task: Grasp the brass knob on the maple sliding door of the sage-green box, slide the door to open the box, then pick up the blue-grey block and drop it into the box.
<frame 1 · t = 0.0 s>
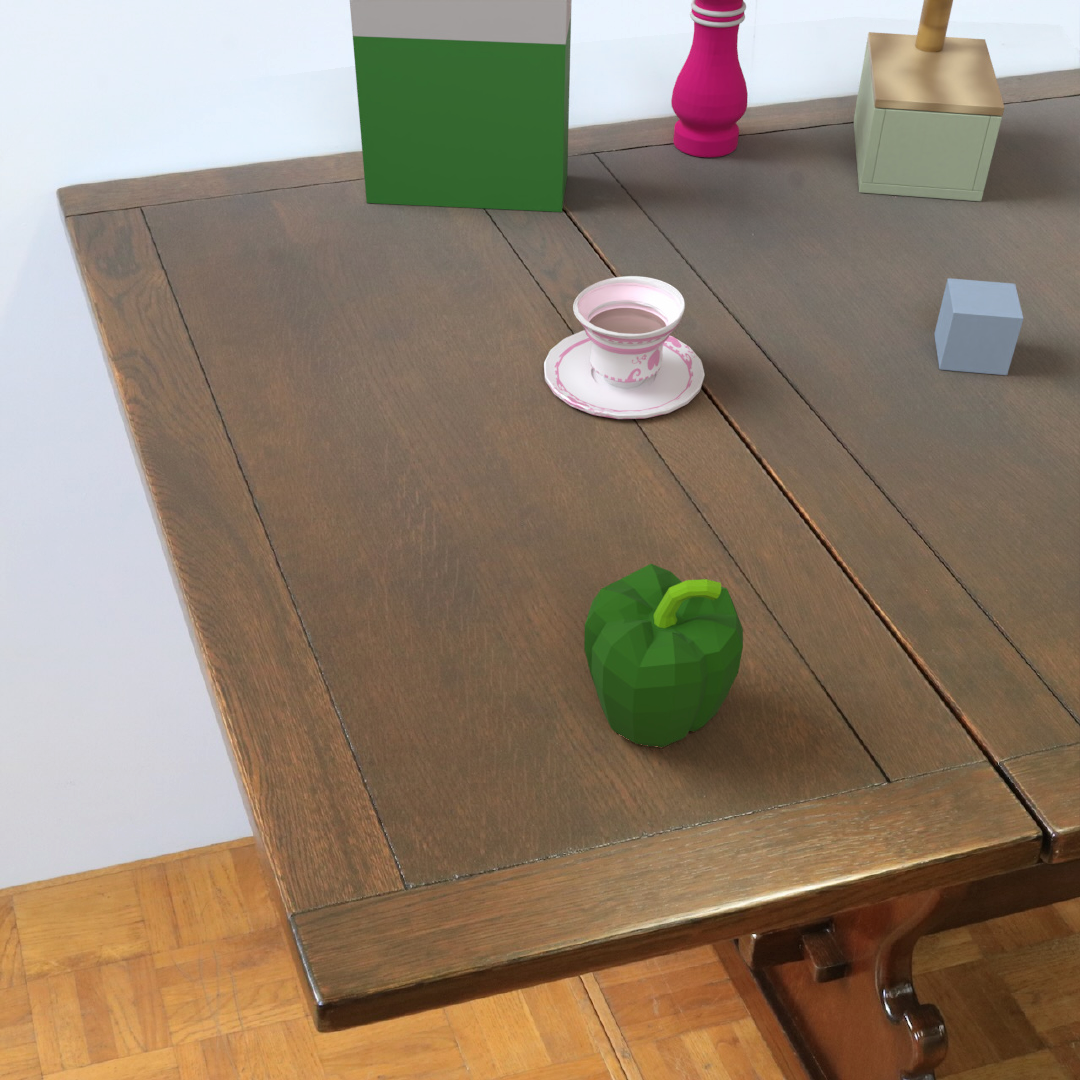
block: (969, 354, 102), on the table
slide door: (937, 44, 120), point 11 cm above the table, slide at 0.0 cm
pepper mill: (705, 146, 129), on the table
bell pepper: (654, 715, 74), on the table
hardback book: (468, 190, 122), on the table
box: (914, 159, 127), on the table
teacup: (623, 377, 99), on the table
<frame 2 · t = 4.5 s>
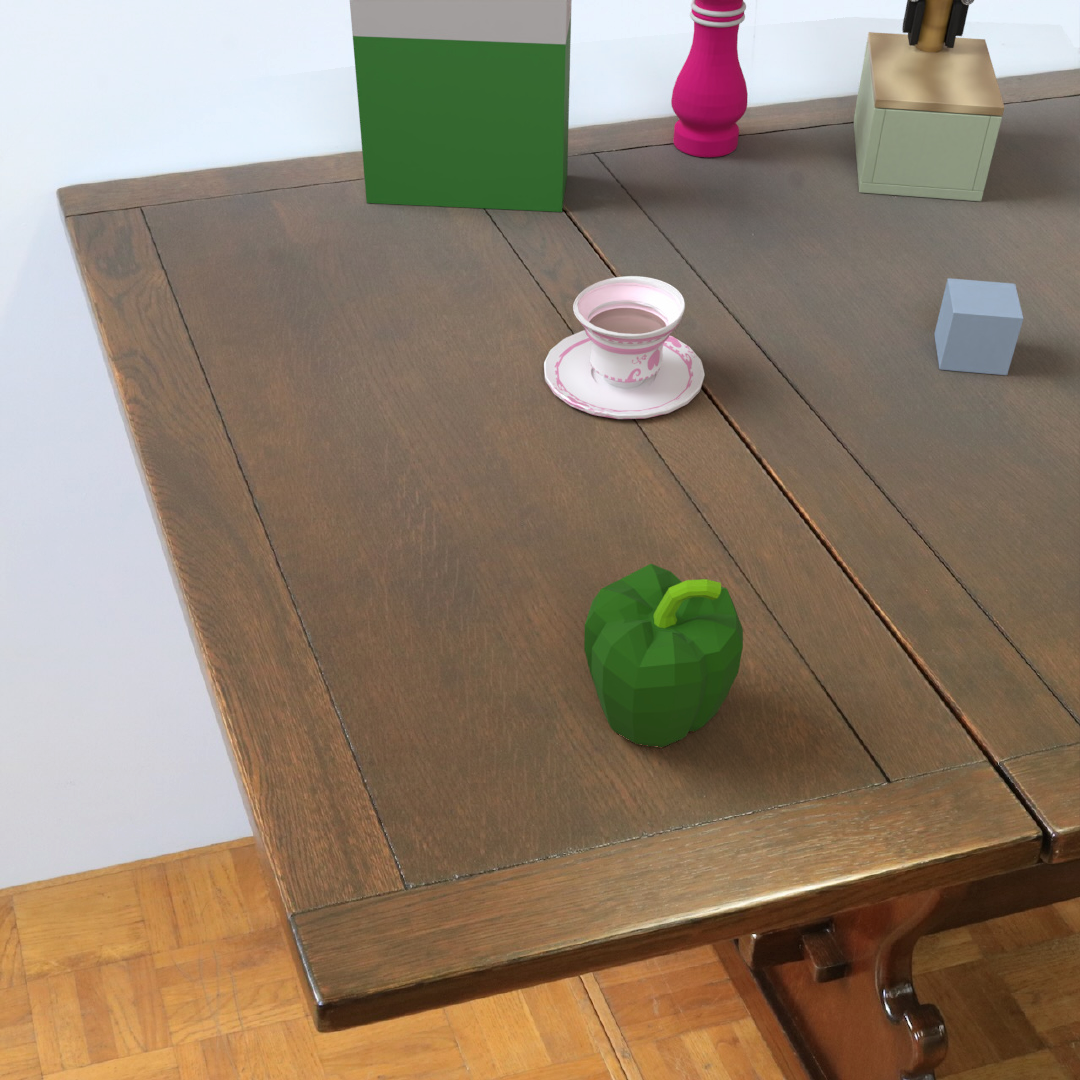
hand: (930, 39, 125), 10 cm above the table, tool pointing down, fingers closed on slide door, 2 cm apart
slide door: (937, 44, 120), point 11 cm above the table, slide at 0.0 cm, touching gripper
everything else where it was.
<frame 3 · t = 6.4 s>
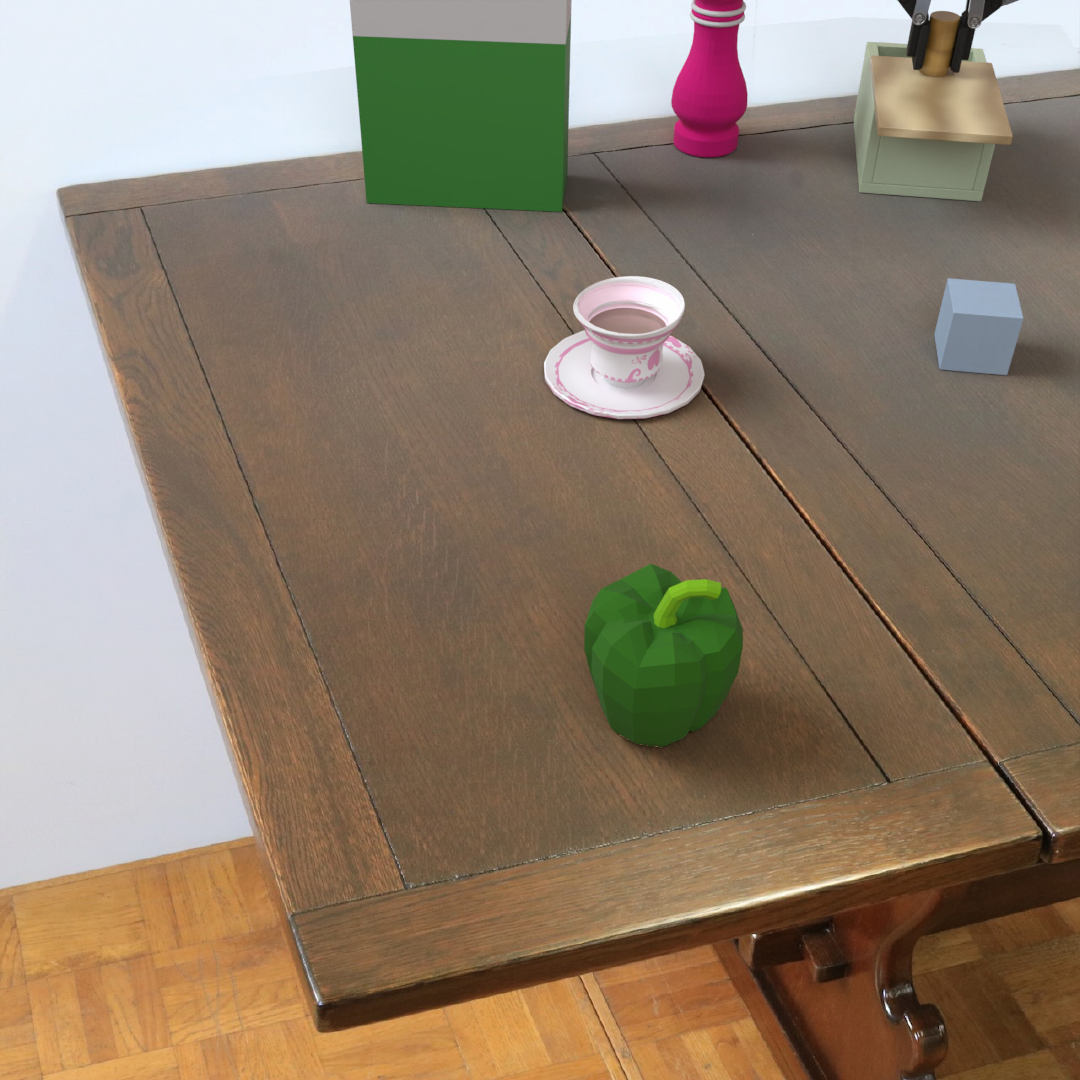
hand: (935, 63, 120), 10 cm above the table, tool pointing down, fingers closed on slide door, 2 cm apart
slide door: (943, 69, 116), point 11 cm above the table, slide at 5.9 cm, touching gripper
everything else where it was.
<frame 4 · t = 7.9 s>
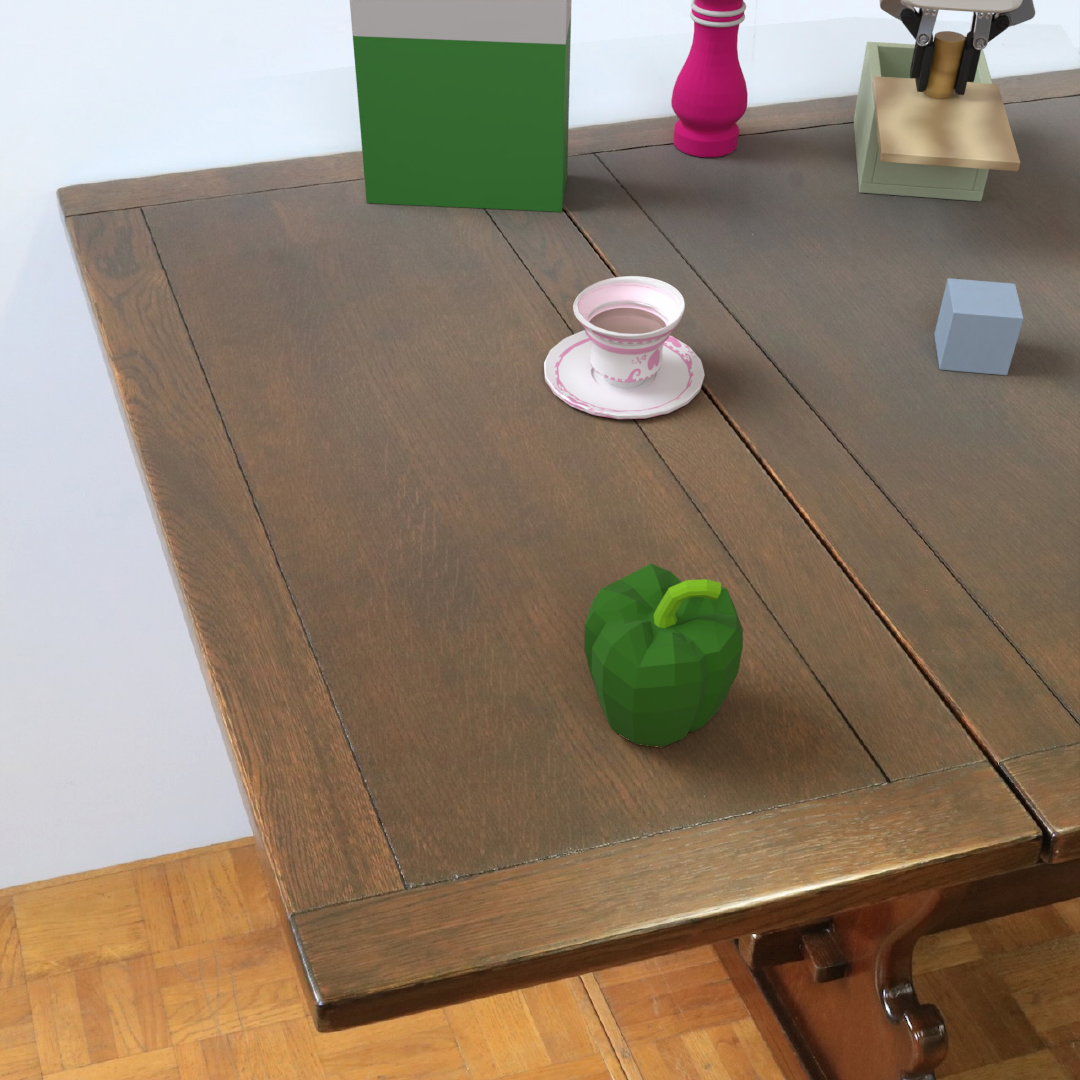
hand: (939, 85, 117), 10 cm above the table, tool pointing down, fingers closed on slide door, 2 cm apart
slide door: (948, 92, 112), point 11 cm above the table, slide at 10.9 cm, touching gripper
everything else where it was.
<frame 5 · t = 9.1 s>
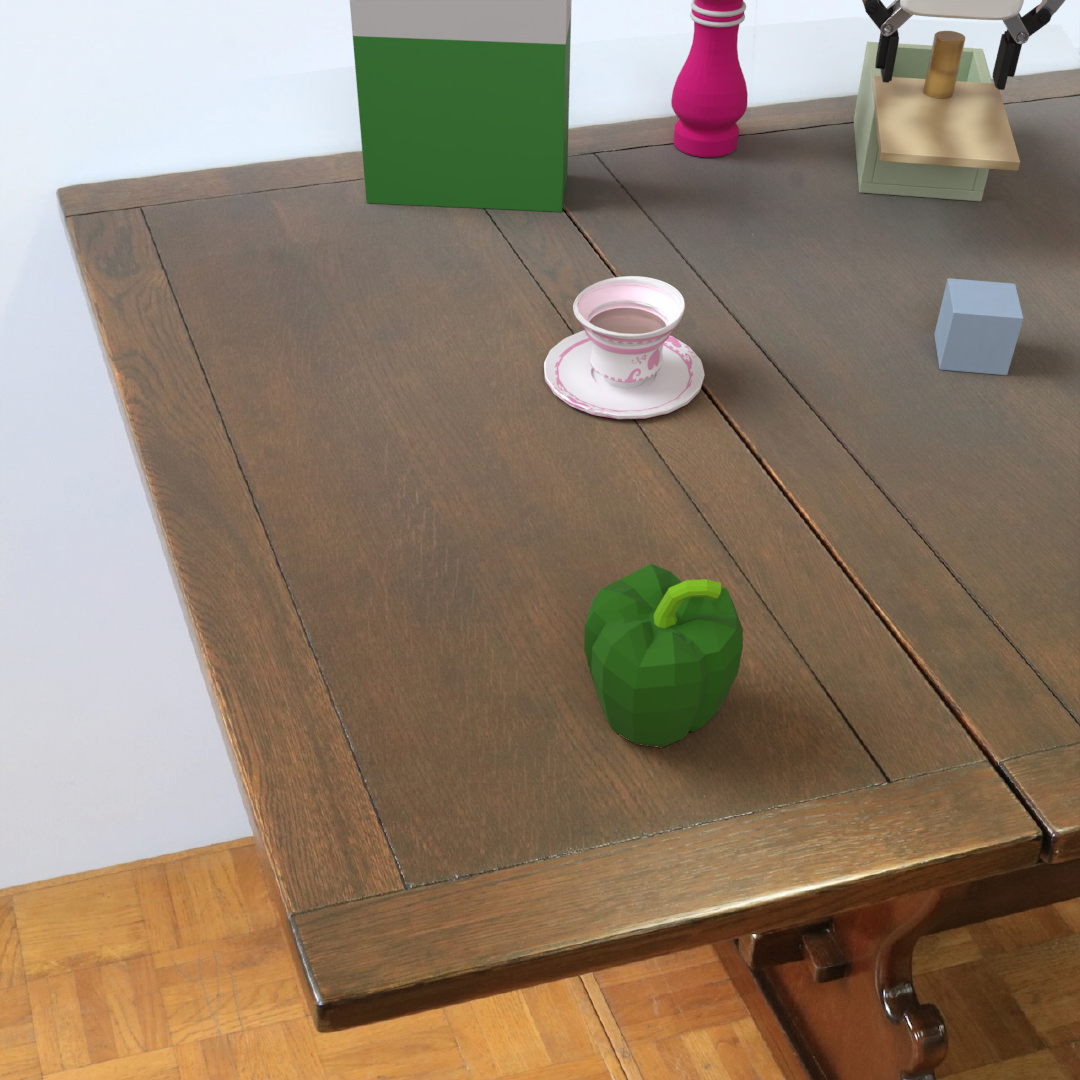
hand: (941, 80, 116), 10 cm above the table, tool pointing down, fingers open, 9 cm apart
slide door: (947, 92, 112), point 11 cm above the table, slide at 10.8 cm
everything else where it was.
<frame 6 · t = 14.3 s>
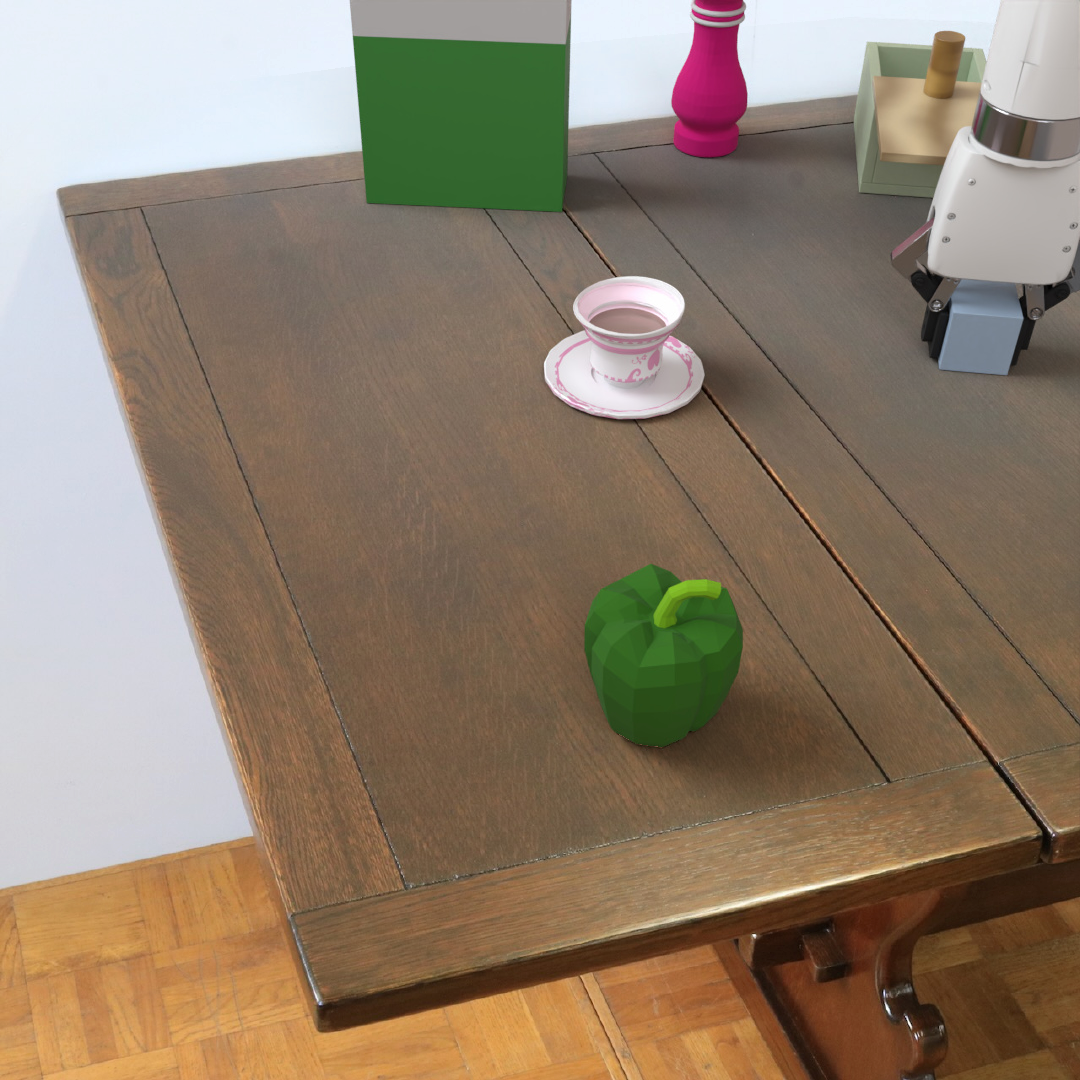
hand: (971, 349, 101), 0 cm above the table, tool pointing down, fingers closed on block, 5 cm apart
block: (969, 354, 102), on the table, touching gripper
everything else where it was.
when the fingers open (7 cm above the table, at t = 22.9 s): block drops 6 cm, resting on box.
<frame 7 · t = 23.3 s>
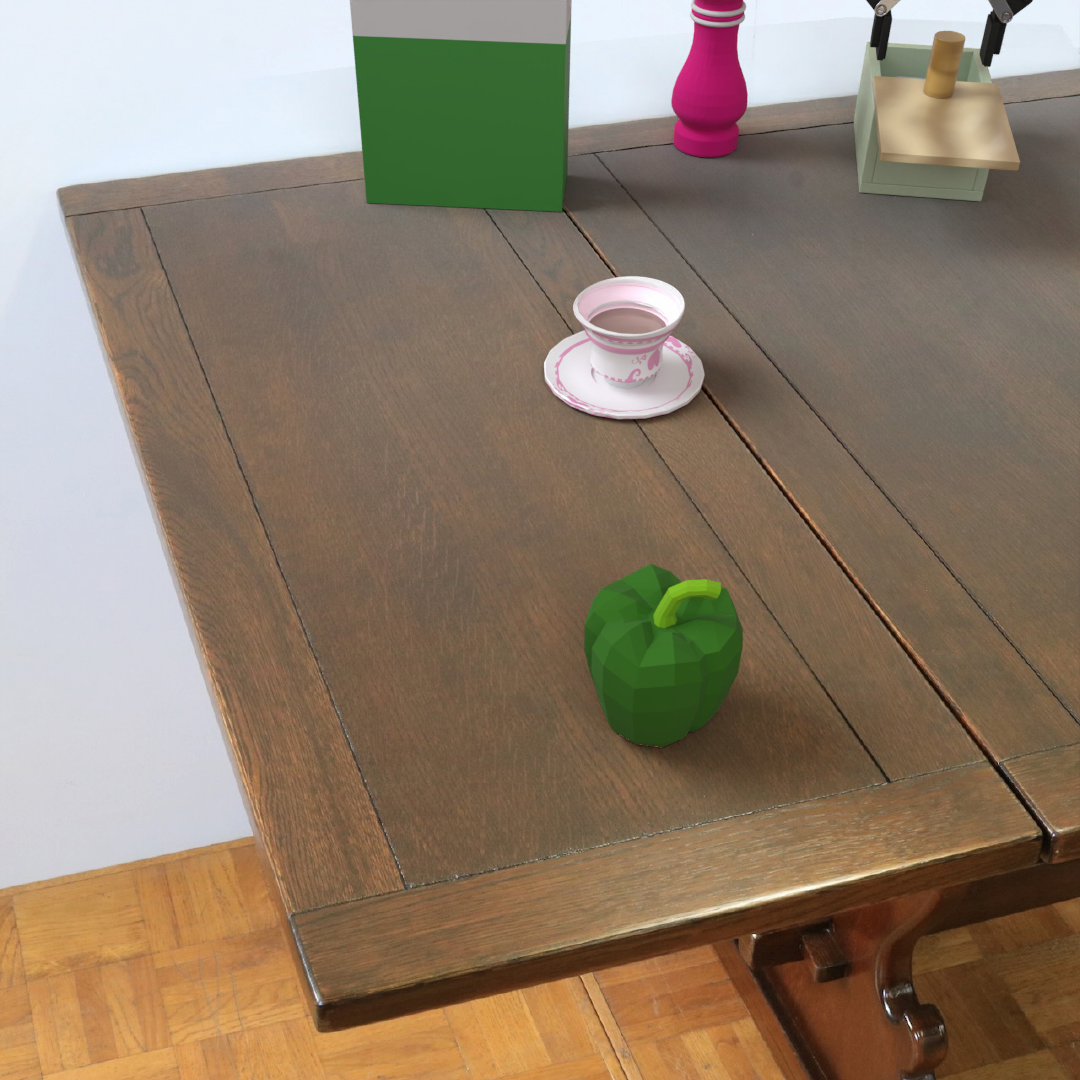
hand: (932, 58, 123), 9 cm above the table, tool pointing down, fingers open, 9 cm apart
block: (915, 138, 128), point 1 cm above the table, touching box
everything else where it was.
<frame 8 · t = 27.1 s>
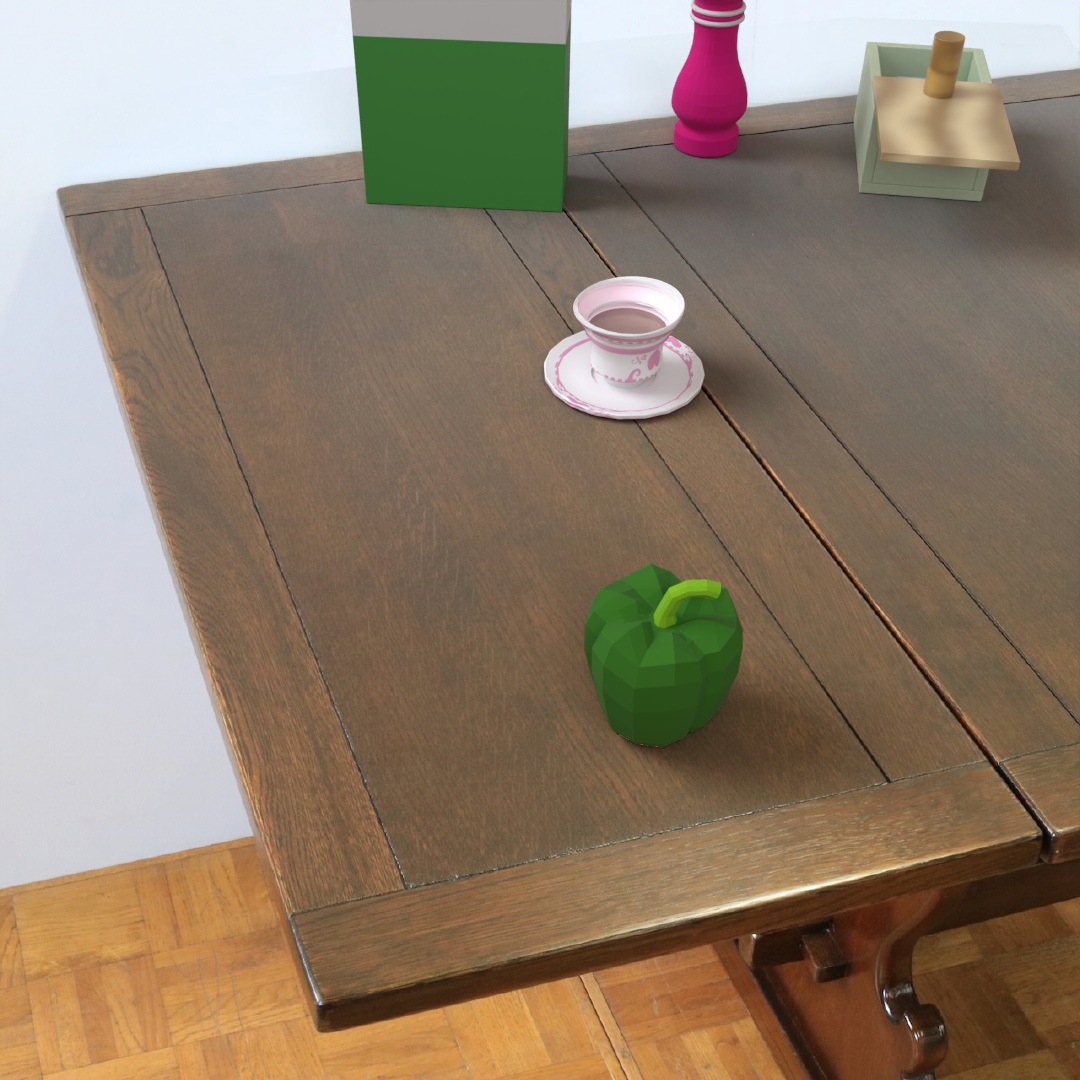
nothing on the table moved.
at the end: slide door slide at 10.8 cm; block inside the target area on the box (2.5 cm from its centre), point 1.0 cm above the box's base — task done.
